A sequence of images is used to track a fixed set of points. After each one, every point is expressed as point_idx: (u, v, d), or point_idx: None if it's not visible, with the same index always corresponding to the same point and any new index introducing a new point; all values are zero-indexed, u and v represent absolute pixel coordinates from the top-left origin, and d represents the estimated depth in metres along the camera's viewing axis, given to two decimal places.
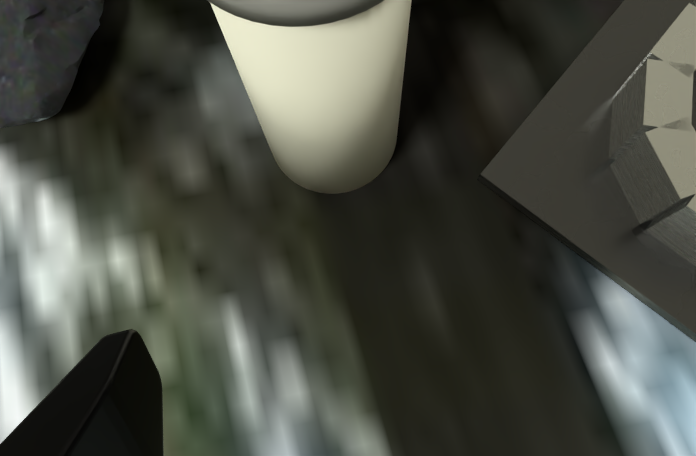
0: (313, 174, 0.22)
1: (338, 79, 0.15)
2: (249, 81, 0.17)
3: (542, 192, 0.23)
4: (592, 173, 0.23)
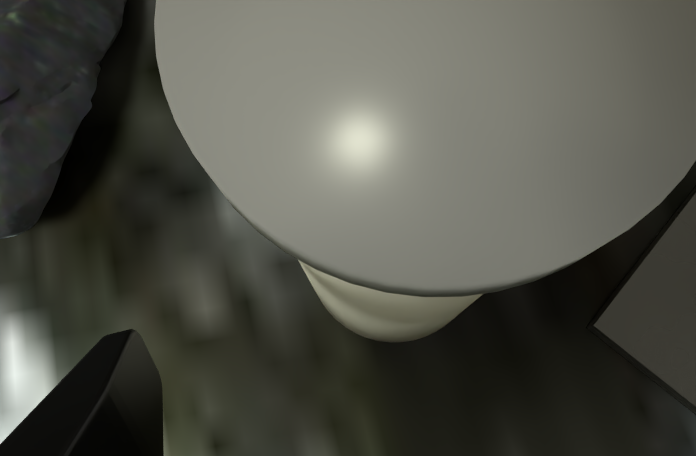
0: (374, 333, 0.16)
1: None
2: (305, 264, 0.11)
3: (678, 353, 0.17)
4: None
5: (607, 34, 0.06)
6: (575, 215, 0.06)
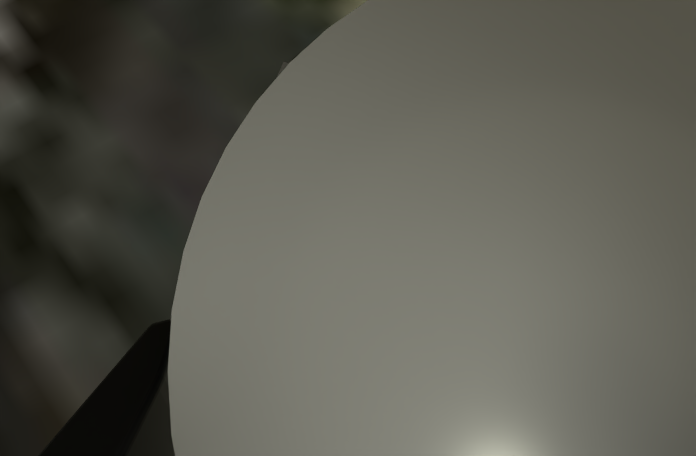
0: None
1: None
2: None
3: None
4: None
5: None
6: None
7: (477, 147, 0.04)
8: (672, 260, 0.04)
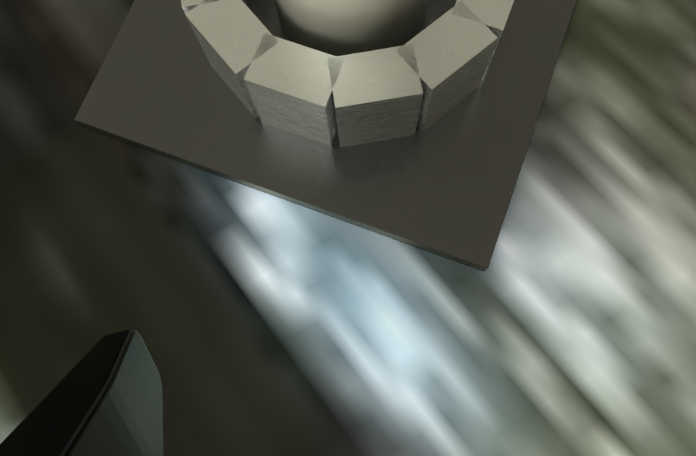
0: (331, 37, 0.18)
1: None
2: None
3: (145, 117, 0.20)
4: (194, 80, 0.20)
5: None
6: None
7: None
8: None
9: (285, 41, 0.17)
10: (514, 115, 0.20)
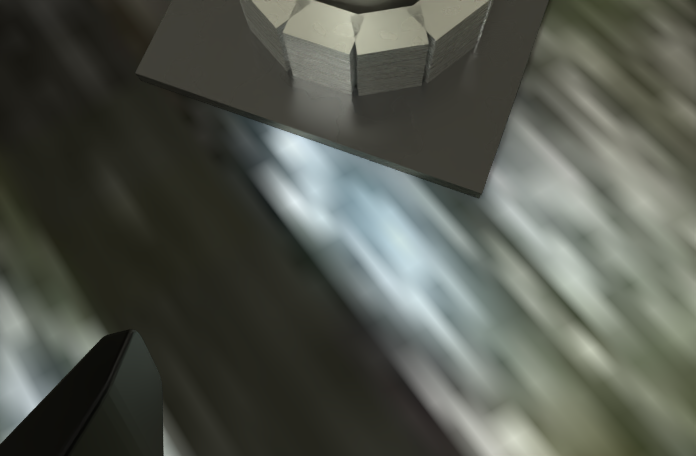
0: (353, 1, 0.22)
1: None
2: None
3: (195, 71, 0.24)
4: (236, 41, 0.24)
5: None
6: None
7: None
8: None
9: (316, 2, 0.21)
10: (504, 69, 0.23)
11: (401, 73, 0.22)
